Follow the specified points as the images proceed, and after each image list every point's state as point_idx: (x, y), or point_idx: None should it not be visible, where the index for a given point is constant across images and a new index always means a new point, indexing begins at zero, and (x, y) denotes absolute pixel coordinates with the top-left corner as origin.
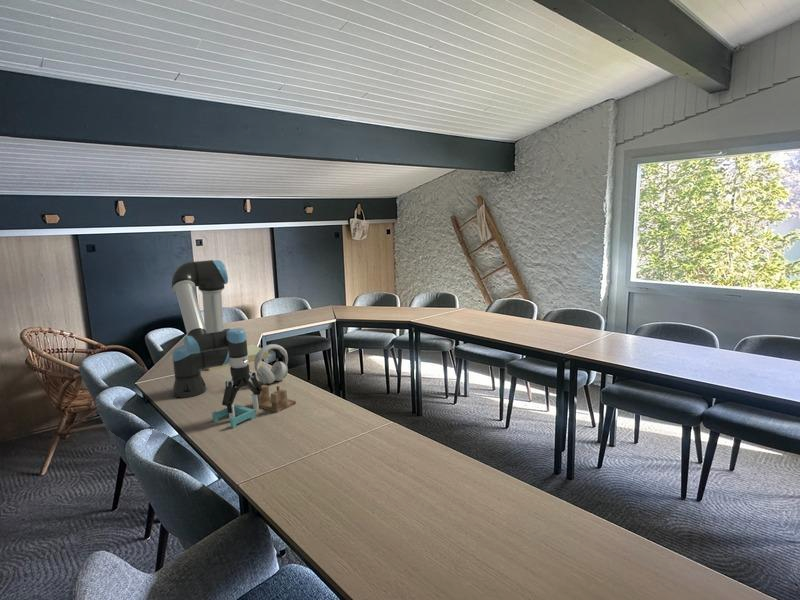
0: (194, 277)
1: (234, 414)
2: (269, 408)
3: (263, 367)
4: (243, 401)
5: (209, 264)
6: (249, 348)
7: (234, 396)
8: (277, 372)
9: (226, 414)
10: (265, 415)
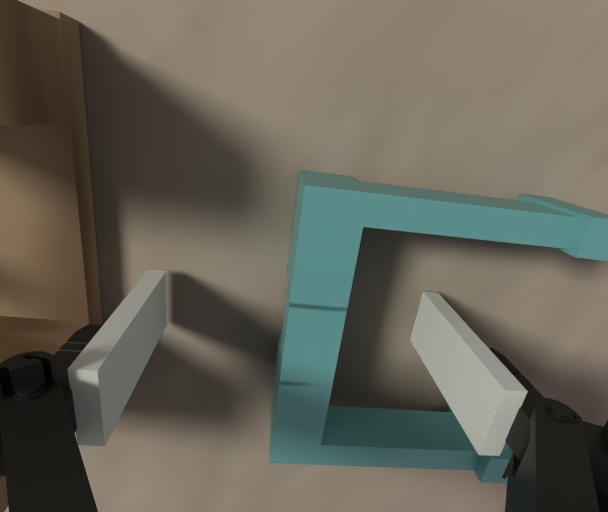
0: None
1: (449, 319)
2: (79, 166)
3: None
4: (91, 489)
5: None
6: None
7: (561, 508)
8: None
9: (382, 411)
10: (211, 110)
